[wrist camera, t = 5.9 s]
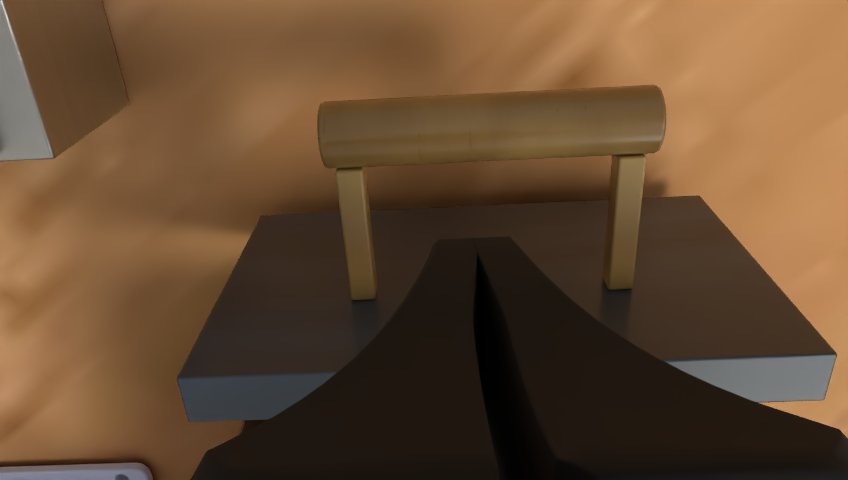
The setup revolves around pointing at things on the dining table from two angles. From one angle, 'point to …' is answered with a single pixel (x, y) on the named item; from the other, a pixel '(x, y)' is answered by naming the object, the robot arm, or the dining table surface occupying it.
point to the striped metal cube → (55, 76)
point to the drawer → (525, 223)
